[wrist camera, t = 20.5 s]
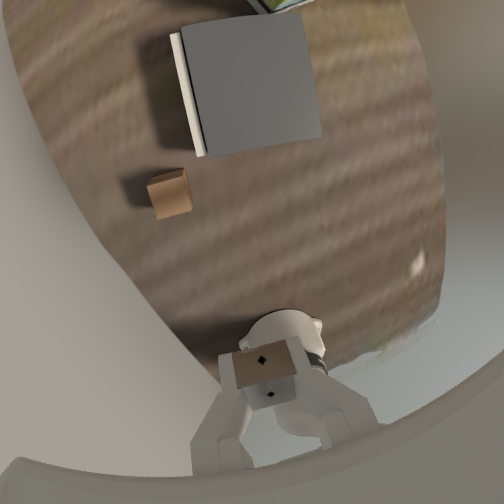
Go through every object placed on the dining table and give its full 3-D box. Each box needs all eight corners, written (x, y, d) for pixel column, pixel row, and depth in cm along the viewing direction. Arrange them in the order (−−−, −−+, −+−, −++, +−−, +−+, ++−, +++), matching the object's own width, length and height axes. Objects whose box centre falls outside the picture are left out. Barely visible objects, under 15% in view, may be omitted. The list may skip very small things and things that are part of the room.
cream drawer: (298, 131, 38) (310, 134, 34) (197, 151, 37) (197, 157, 33) (278, 26, 29) (288, 17, 25) (173, 43, 28) (169, 34, 24)
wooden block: (192, 198, 41) (191, 210, 37) (162, 207, 41) (157, 219, 37) (184, 168, 38) (182, 176, 34) (152, 177, 38) (146, 186, 34)
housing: (306, 132, 39) (322, 137, 34) (208, 151, 38) (209, 158, 33) (286, 24, 29) (300, 13, 24) (183, 38, 29) (180, 27, 23)
